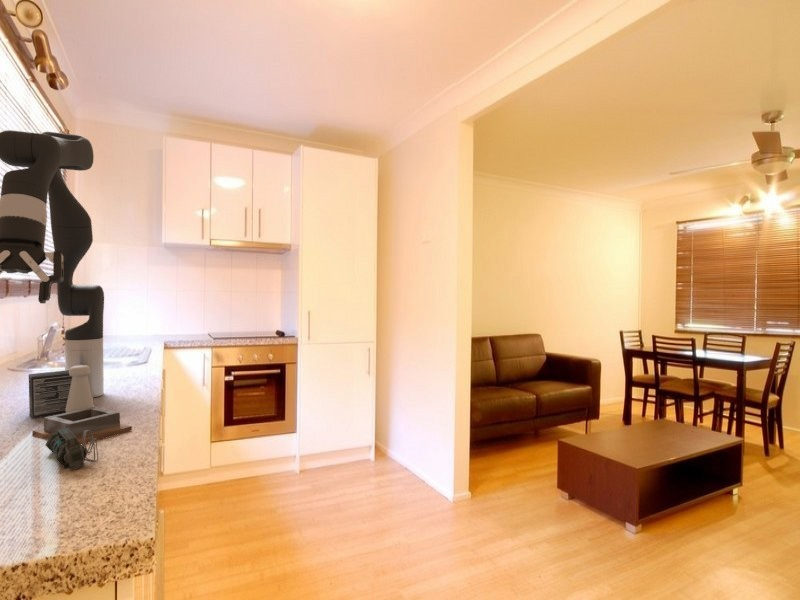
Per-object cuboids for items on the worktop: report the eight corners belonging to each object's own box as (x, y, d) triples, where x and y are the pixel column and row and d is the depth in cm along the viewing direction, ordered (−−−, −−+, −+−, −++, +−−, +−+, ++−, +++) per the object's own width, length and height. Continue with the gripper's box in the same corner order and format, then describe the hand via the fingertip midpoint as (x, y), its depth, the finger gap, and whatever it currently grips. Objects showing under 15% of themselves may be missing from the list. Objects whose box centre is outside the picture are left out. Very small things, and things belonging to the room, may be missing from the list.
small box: (79, 406, 121) (78, 368, 120) (83, 411, 116) (83, 371, 116) (28, 413, 113) (28, 373, 113) (31, 419, 109) (30, 376, 108)
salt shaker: (78, 422, 106) (78, 368, 106) (59, 420, 107) (58, 367, 107) (99, 415, 112) (99, 364, 112) (81, 414, 113) (80, 363, 113)
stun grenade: (46, 457, 86) (61, 478, 76) (42, 425, 86) (56, 442, 76) (85, 446, 91) (103, 464, 81) (81, 416, 90) (99, 431, 80)
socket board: (32, 435, 97) (32, 416, 97) (91, 420, 107) (91, 404, 107) (72, 447, 89) (72, 427, 89) (131, 430, 100) (131, 413, 100)
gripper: (70, 233, 93) (64, 308, 89) (-20, 228, 86) (-31, 307, 82) (62, 218, 87) (56, 297, 82) (-35, 210, 80) (-48, 296, 76)
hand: (12, 302), depth 82 cm, fingers open, 8 cm apart
